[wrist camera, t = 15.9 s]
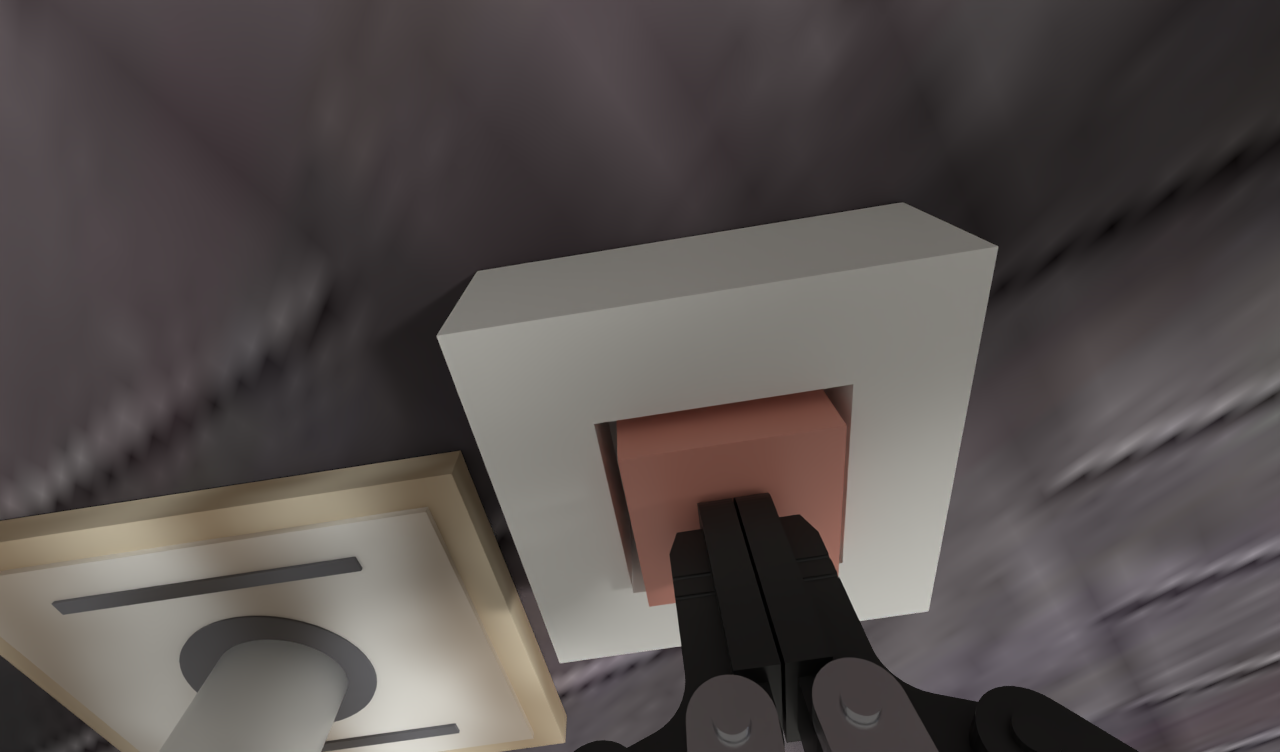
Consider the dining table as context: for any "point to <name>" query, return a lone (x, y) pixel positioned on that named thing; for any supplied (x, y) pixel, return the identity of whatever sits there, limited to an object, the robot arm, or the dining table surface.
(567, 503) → the button housing
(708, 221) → the dining table surface
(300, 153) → the dining table surface
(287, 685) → the marker
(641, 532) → the button
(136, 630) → the paper board
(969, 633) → the dining table surface
